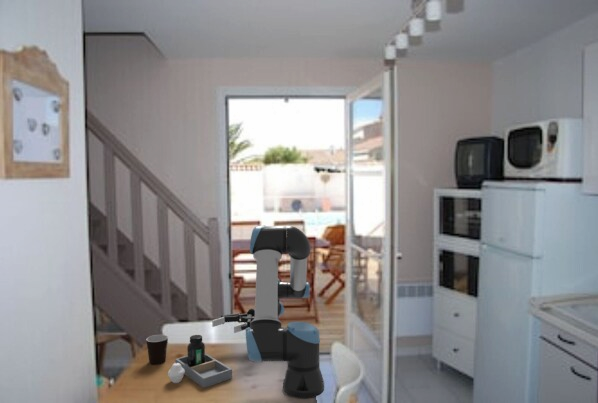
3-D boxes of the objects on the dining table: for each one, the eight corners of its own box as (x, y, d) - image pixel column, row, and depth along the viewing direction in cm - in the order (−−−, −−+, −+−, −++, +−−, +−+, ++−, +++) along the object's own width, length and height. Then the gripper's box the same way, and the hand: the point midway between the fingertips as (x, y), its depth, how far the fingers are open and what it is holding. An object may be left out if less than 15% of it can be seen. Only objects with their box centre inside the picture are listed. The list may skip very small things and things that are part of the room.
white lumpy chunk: (167, 379, 161) (167, 361, 161) (184, 376, 164) (183, 358, 163) (168, 386, 156) (168, 367, 155) (185, 383, 158) (185, 365, 158)
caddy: (232, 378, 162) (232, 369, 162) (203, 388, 154) (203, 378, 154) (202, 359, 180) (202, 351, 180) (175, 367, 172) (175, 359, 172)
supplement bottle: (202, 369, 168) (202, 339, 167) (185, 369, 168) (185, 339, 167) (206, 362, 175) (206, 333, 174) (190, 362, 175) (190, 333, 174)
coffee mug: (161, 366, 172) (161, 342, 172) (142, 365, 174) (142, 341, 174) (175, 355, 184) (175, 333, 183) (157, 354, 185) (157, 331, 185)
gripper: (278, 328, 189) (244, 341, 172) (239, 318, 205) (204, 329, 188) (278, 311, 189) (244, 323, 172) (239, 303, 204) (204, 312, 188)
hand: (223, 326), depth 180 cm, fingers open, 13 cm apart
